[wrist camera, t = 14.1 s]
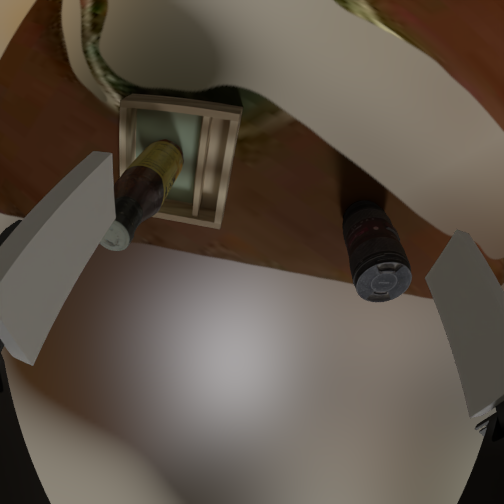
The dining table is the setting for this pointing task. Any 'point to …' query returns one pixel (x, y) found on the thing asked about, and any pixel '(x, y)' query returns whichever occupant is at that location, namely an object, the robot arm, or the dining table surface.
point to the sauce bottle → (142, 191)
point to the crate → (185, 150)
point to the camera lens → (375, 253)
